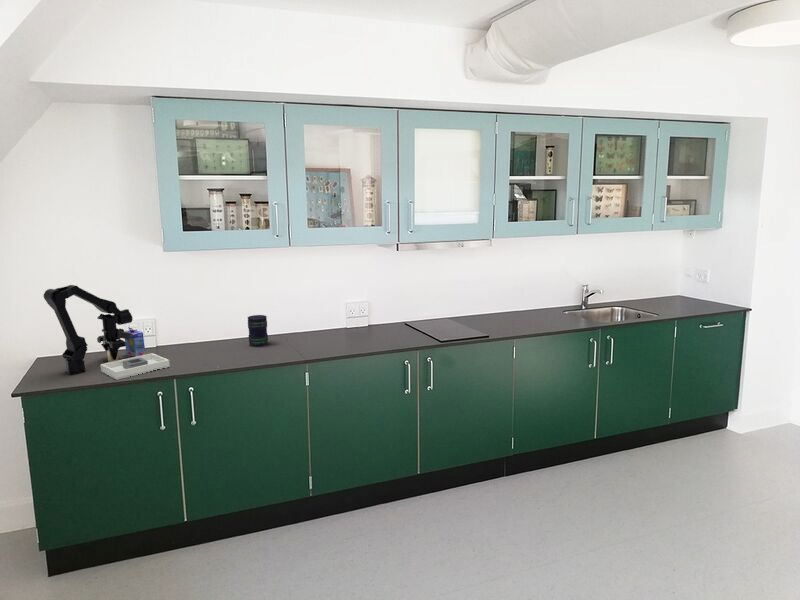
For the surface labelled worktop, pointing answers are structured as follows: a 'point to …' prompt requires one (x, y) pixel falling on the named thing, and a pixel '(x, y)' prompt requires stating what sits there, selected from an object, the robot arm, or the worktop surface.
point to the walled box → (134, 366)
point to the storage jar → (257, 331)
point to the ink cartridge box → (135, 343)
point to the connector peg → (111, 357)
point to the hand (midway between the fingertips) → (113, 358)
